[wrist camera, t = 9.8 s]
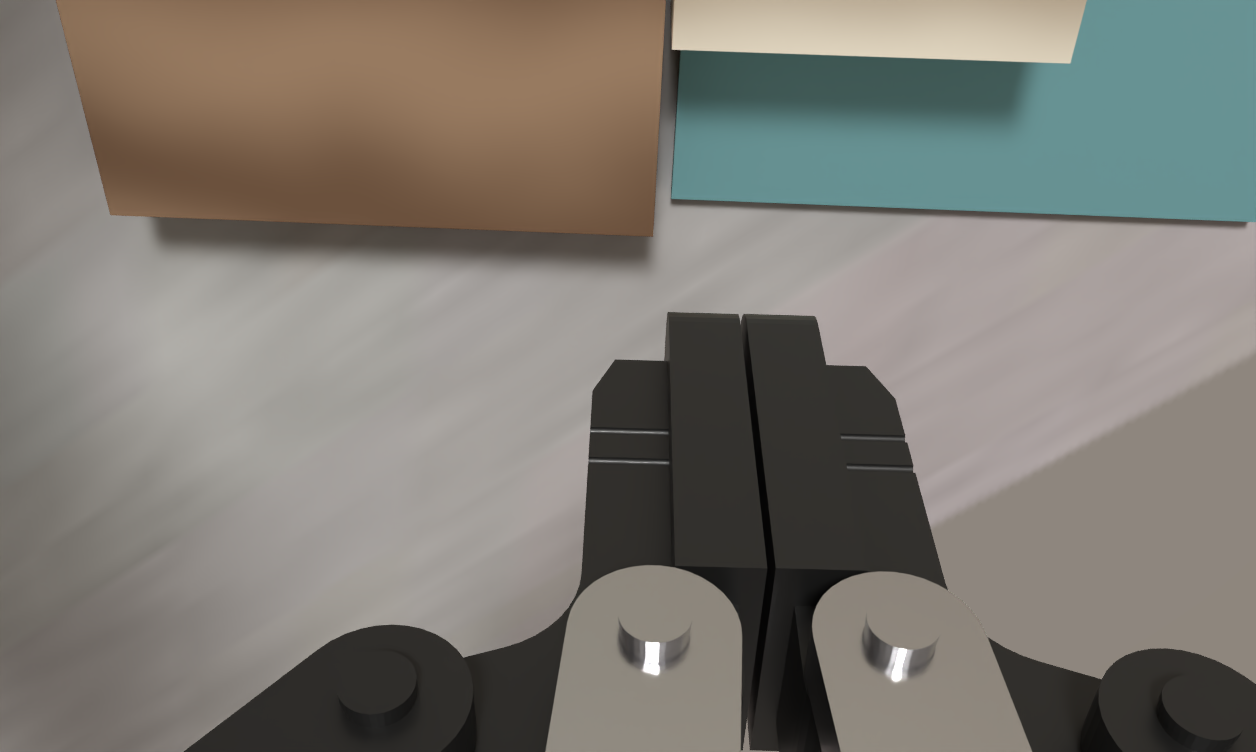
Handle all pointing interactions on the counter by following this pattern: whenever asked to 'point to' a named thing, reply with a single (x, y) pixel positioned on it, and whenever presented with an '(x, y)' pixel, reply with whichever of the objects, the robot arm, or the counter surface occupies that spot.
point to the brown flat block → (375, 110)
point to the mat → (990, 123)
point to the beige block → (883, 28)
